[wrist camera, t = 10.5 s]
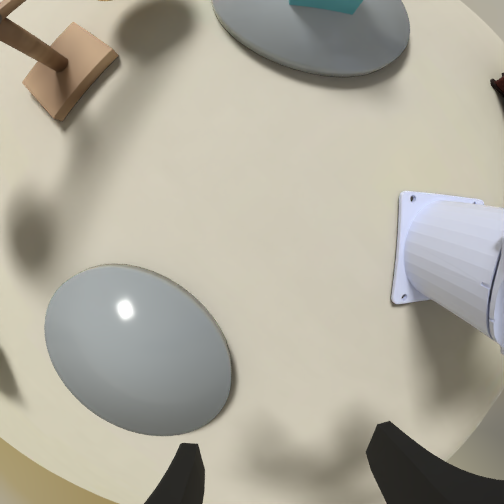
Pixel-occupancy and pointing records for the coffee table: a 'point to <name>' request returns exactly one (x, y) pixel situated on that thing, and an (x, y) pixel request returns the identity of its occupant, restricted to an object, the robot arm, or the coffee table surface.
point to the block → (330, 4)
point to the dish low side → (319, 34)
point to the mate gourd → (498, 84)
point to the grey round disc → (138, 350)
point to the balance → (57, 62)
